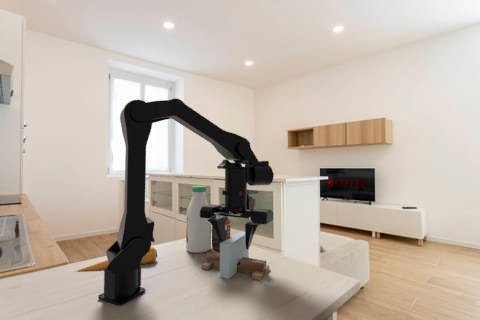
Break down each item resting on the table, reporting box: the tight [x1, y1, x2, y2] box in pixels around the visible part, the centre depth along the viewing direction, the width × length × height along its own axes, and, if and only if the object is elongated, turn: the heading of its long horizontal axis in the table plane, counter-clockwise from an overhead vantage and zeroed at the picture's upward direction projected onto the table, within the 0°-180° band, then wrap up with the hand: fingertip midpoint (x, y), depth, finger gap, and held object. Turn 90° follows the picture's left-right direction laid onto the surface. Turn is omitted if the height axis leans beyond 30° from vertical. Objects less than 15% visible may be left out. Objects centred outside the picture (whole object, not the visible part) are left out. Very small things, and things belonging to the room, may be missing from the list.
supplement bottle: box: [211, 216, 231, 251], centre depth 84 cm, size 6×6×11 cm
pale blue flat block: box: [219, 231, 250, 280], centre depth 67 cm, size 12×2×8 cm, turn 155°
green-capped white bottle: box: [185, 185, 212, 254], centre depth 82 cm, size 8×8×20 cm
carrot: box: [76, 246, 158, 272], centre depth 68 cm, size 20×4×4 cm, turn 114°
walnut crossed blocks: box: [201, 251, 270, 281], centre depth 66 cm, size 7×16×3 cm, turn 65°
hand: (235, 247), depth 67 cm, fingers open, 7 cm apart
